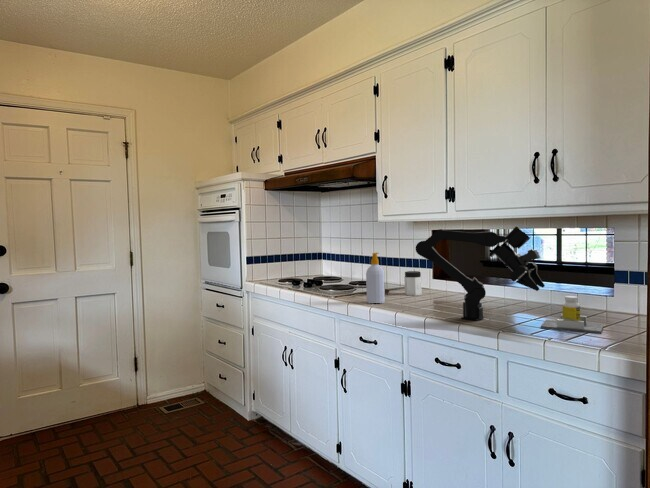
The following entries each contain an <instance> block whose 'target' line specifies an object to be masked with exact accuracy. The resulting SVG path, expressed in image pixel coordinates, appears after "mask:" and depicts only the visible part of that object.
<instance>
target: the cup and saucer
mask: <svg viewBox="0 0 650 488" xmlns="http://www.w3.org/2000/svg"><path fill="white" fill-rule="evenodd" d="M384 287H385V295H386V294H388V293H389V292H390V289H386V283H385V281H384Z"/></svg>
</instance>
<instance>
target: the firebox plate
mask: <svg viewBox="0 0 650 488" xmlns="http://www.w3.org/2000/svg"><path fill="white" fill-rule="evenodd" d="M603 328H604V323H593V322H588V321H587V316H586V315H580V321H576V320H563V313H562V314H560V319H559V318H557V319H555V320H554V319H545V320H544V321H543V322H542V324H541V325H540V329H545V330H546V329H547V330H557V331H566V332H567V331H568V332H576V333H577V332H579V333H590V334H598V335H600V334H602V331H603Z"/></svg>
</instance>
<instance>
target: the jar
mask: <svg viewBox="0 0 650 488" xmlns="http://www.w3.org/2000/svg"><path fill="white" fill-rule="evenodd" d="M421 274H422V273H421V271H420V270H419V271H418V270H417V271H416V270H411V271H410V270H409V271H405V272H404V295H406V296H409V297H410V296H411V297H412V296H415V297H416V296H421V295H422V293H423V291H422V277H421V276H422V275H421Z"/></svg>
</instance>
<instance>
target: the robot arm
mask: <svg viewBox="0 0 650 488" xmlns="http://www.w3.org/2000/svg"><path fill="white" fill-rule="evenodd" d="M442 240H445V241H446V240H447V241H456V242H464V243H465V242H466V243H474V244H478V245H481V246H483V247H484V246H485V247H488V248H493V247H494V248H493V249H488V251H489V257H490V258H493V257H494V256H496V257H497V258H498V259H499V260H500V261H501V262H502V263H503V264H504V265H503V266H504V267H505V268H507V267H508V269H510V271H511V273H509V279H510V280H511V281H512V282H514V283H517V284H519V285H522V286H525V287H527V288H528V289H531V290H534V291H536V292H538V291H539V290H540V288H545V286H546V285H545V283H544V282H543V280H542V279H541V277H540V276H539V274H538V265H537V264H536V263H535V262H533V260H535V261H536V260H538V259H540V258H541V256H540V254H539V251H538V250H537V249H533V248H531V249H528V250H527V253H524V254H521V253H516V251H515V249H518V250H519V249H521V248H522V247H523V246H524V245H526V243H527V242H528V241H529V240H531V237H529V235H528V234H527V233H526V232H524V231H523V230H521V229H520V228H519V227H518V226H514V227H513V228H512V230H511V231H510V232H508V234H507V235H506V236H505V235H504V234H503V235H498V234H497V233H496V232H494V231H481V232H478V231H477V232H468V231H467V232H466V231H457V230H446V229H437V230H436V231H435V233H433V234H432V235H430V236H429V237H428V238H427V239H426V240H421V241H419V242H417V243H416V244H415V253H417V255H419V256H421V257H423V258H424V259H426V260H428V261H430V262H432V263H433V264H435V265H436V266H437V267H439V268H440V269H441V270H442V271H443V272H444V273H446V274H447V275H448V276H449V277H451V278H452V279H454V280H455V281H456V282H457V283H458V284H459V285H460V286H462V288H463V290H465V292H466V294H465V295H464V301H463V302H462V316H461V317H460V319H463V320H467V321H468V320H469V321H474V322H475V321H479V320H483V319H485V317H484V316H483V315H484V307H483V306H482V305H483V303H482V302H481V300H483V299H484V298H485V297H486V294H487V293H486V288H485V287H484V283H483V282H481V281H479V280H478V279H477V278H476V277H475V276H473V278H470V277H469V276H466V275H465V274H464V273H463V272H461V271H460V270H459V269H458V268H457V267H455V266H454V265H453V264H452V263H450V262H449V261H448V260H447V259H445V258H444V257H443V256H442V255H440V253H439V251H437V249H436V248H434V246H435V245H437V244H438V243H439V242H440V241H442ZM500 243H502V244H500ZM508 244H509V245H508ZM510 246H511V247H510ZM513 249H514V250H513Z"/></svg>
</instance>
